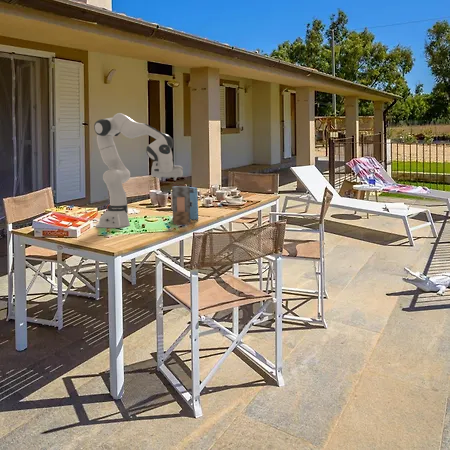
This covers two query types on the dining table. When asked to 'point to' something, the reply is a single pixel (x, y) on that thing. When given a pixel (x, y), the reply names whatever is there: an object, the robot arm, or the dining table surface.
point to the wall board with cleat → (184, 217)
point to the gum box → (193, 203)
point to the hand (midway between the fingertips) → (167, 179)
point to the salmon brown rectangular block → (180, 204)
